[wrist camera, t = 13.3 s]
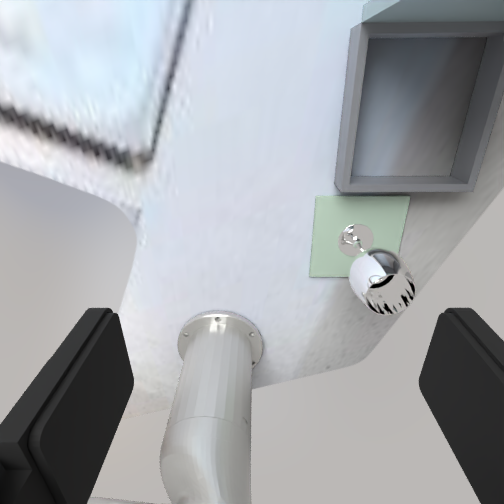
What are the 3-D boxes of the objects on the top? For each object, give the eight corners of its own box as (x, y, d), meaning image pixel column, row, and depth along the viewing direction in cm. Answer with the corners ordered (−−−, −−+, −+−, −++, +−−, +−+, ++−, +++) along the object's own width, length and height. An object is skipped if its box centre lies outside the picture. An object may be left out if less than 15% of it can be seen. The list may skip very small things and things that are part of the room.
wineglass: (323, 249, 42) (347, 306, 31) (349, 211, 39) (383, 258, 29) (361, 267, 43) (396, 327, 32) (388, 230, 40) (436, 283, 30)
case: (455, 182, 38) (607, 258, 22) (334, 183, 38) (393, 259, 22) (503, 11, 31) (791, -72, 14) (352, 13, 31) (463, -67, 14)
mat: (391, 275, 44) (392, 276, 43) (309, 275, 44) (309, 276, 44) (409, 195, 39) (410, 196, 38) (315, 195, 39) (316, 196, 39)
